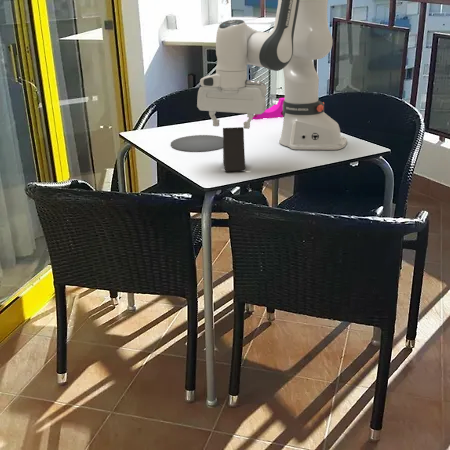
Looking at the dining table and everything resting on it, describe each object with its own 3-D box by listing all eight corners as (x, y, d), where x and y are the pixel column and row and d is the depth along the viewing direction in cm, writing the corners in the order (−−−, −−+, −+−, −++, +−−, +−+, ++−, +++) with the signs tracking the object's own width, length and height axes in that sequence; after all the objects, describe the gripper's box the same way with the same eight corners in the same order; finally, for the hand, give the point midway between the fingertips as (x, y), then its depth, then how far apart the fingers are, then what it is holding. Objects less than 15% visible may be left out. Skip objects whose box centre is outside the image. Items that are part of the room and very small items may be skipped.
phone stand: (245, 171, 188) (244, 131, 184) (225, 171, 188) (223, 132, 183) (242, 162, 197) (241, 124, 192) (223, 163, 196) (222, 124, 192)
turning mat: (236, 138, 223) (236, 136, 223) (218, 153, 206) (218, 152, 206) (183, 135, 229) (183, 133, 229) (161, 149, 212) (161, 148, 212)
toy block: (283, 115, 256) (283, 96, 253) (288, 118, 250) (288, 99, 247) (247, 117, 253) (247, 98, 250) (251, 121, 247) (250, 102, 244)
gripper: (269, 79, 182) (268, 127, 187) (202, 76, 188) (202, 122, 193) (263, 83, 177) (262, 132, 182) (194, 79, 183) (195, 127, 188)
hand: (231, 127), depth 188 cm, fingers open, 8 cm apart
